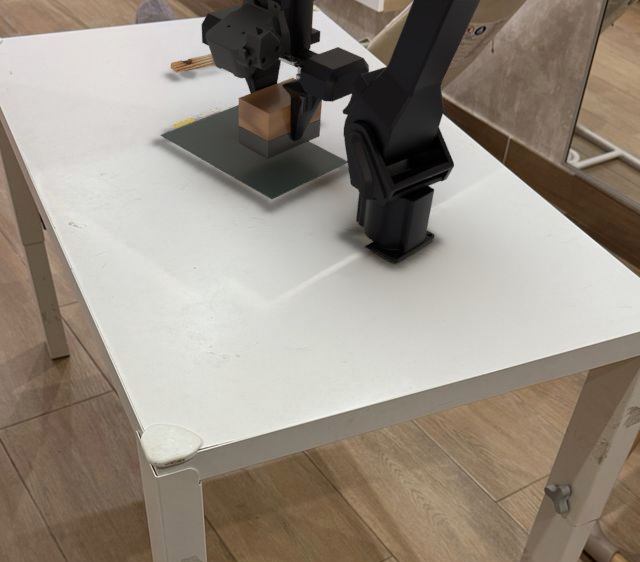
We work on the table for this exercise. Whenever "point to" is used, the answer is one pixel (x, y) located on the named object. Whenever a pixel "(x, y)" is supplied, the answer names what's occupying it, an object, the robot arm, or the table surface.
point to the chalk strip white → (209, 112)
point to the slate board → (252, 155)
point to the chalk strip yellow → (183, 122)
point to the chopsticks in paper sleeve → (193, 63)
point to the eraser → (271, 121)
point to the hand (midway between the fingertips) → (280, 131)
